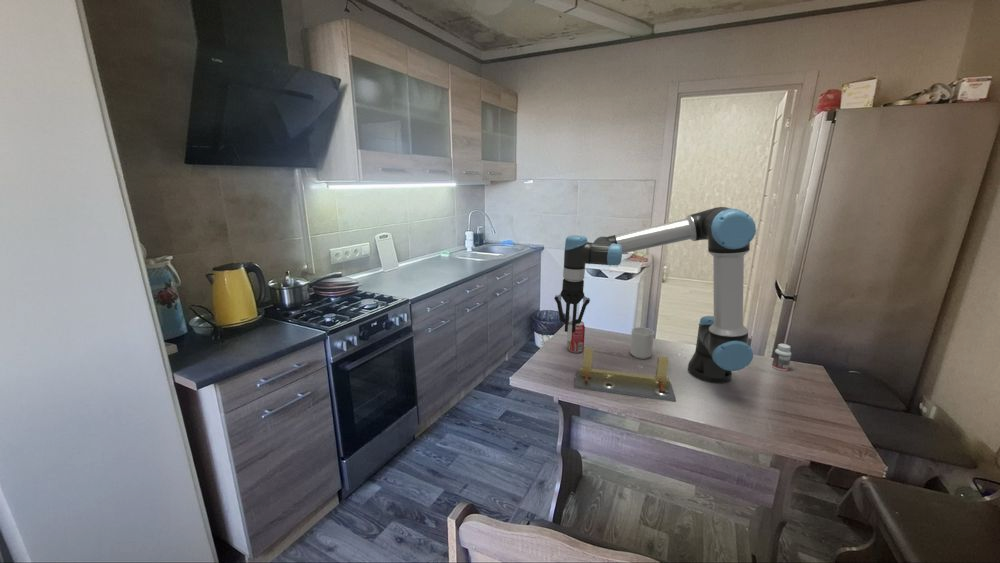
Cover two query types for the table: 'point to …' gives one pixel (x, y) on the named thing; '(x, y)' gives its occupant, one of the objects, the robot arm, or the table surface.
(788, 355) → the pill bottle
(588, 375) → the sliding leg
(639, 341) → the mug
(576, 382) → the bolt plate
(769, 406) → the table surface
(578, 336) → the soda can
